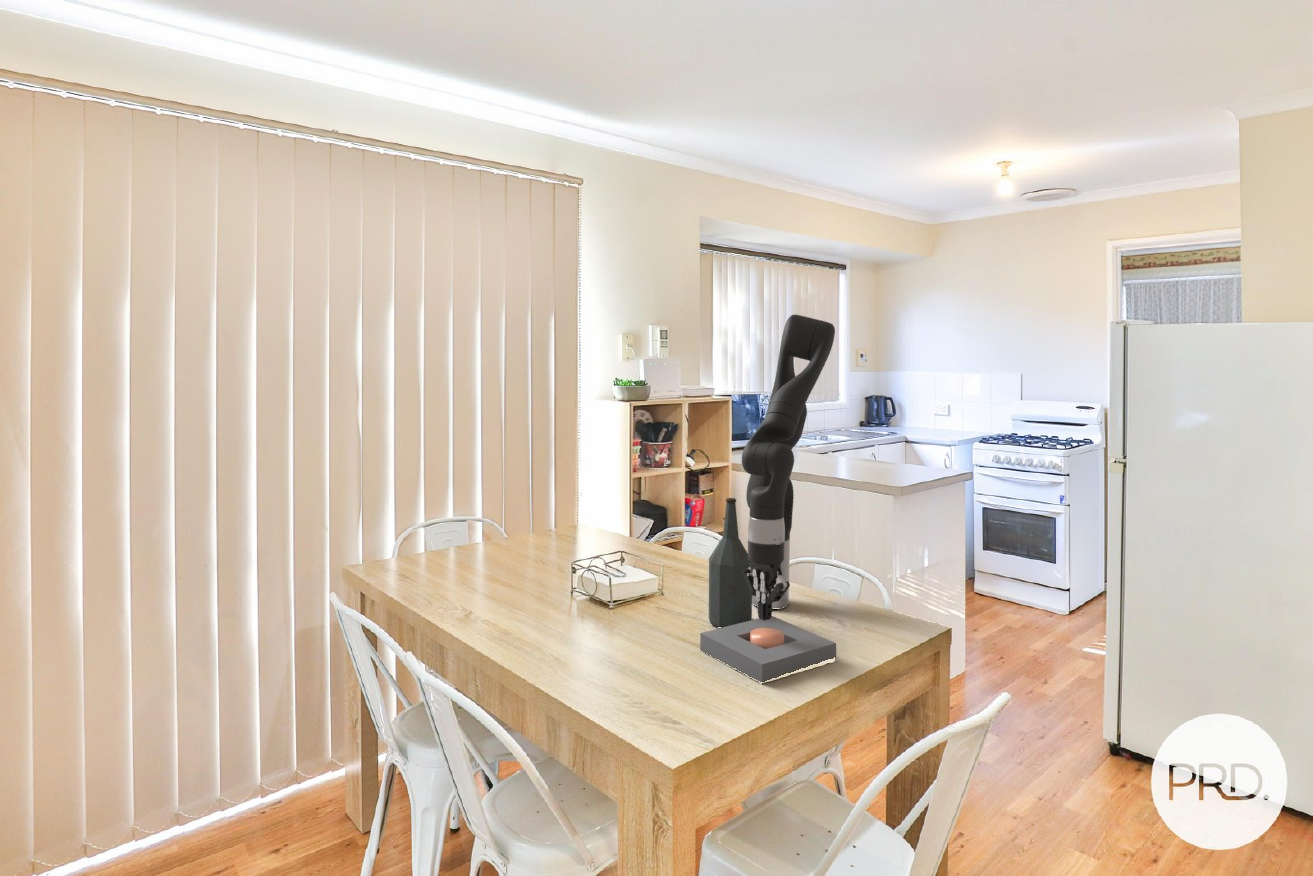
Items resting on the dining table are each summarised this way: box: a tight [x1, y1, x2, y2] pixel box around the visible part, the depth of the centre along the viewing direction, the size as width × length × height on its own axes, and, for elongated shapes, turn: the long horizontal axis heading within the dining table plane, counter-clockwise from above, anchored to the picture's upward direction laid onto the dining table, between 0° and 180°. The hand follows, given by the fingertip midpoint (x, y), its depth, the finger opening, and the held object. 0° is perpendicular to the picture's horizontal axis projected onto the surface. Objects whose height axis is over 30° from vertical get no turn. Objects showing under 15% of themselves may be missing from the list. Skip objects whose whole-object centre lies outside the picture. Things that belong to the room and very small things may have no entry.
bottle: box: [708, 497, 753, 628], centre depth 177 cm, size 10×10×30 cm
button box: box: [699, 615, 837, 682], centre depth 159 cm, size 20×20×4 cm
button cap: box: [750, 628, 784, 649], centre depth 159 cm, size 7×7×4 cm
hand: (764, 618), depth 158 cm, fingers closed
